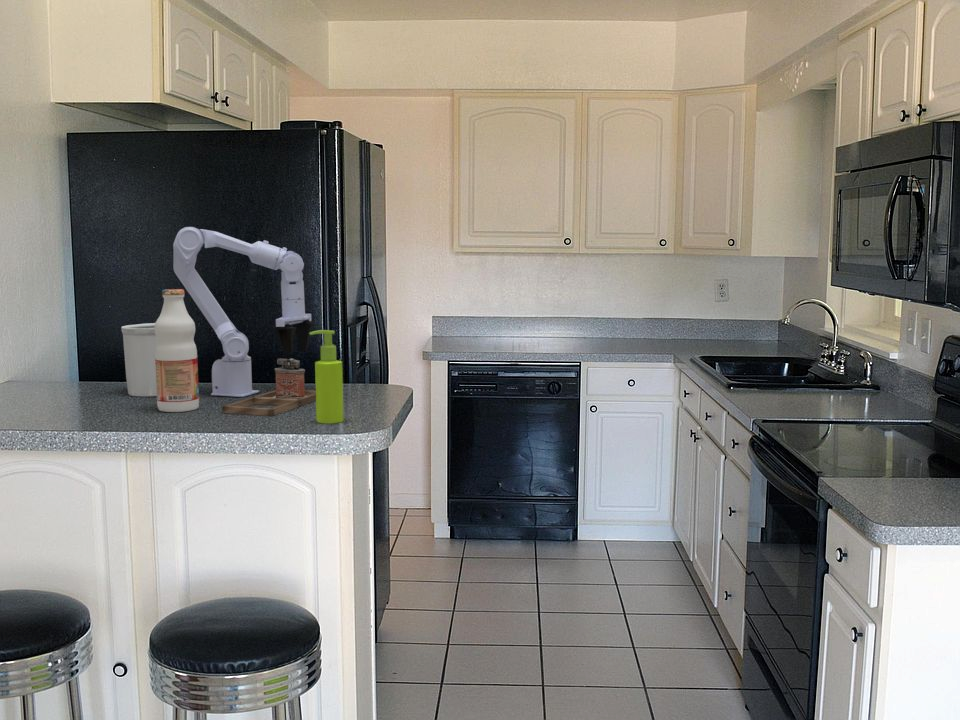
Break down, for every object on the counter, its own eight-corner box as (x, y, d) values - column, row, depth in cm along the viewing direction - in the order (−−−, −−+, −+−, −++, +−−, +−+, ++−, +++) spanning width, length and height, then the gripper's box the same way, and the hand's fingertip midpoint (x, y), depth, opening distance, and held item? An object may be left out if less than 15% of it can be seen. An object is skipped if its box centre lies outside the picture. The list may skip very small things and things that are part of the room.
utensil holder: (111, 395, 251) (108, 326, 248) (151, 386, 264) (148, 321, 262) (158, 399, 245) (155, 328, 243) (197, 389, 259) (194, 323, 256)
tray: (222, 412, 226) (221, 406, 226) (280, 394, 251) (279, 388, 251) (271, 416, 222) (271, 409, 222) (325, 397, 247) (325, 391, 246)
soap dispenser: (312, 418, 219) (310, 329, 217) (344, 418, 220) (342, 328, 217) (310, 423, 214) (308, 332, 211) (342, 423, 214) (340, 331, 211)
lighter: (308, 399, 243) (307, 358, 241) (300, 401, 239) (299, 360, 238) (280, 396, 246) (279, 357, 244) (272, 399, 243) (271, 358, 241)
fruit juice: (149, 410, 230) (143, 290, 226) (182, 404, 238) (177, 287, 234) (174, 414, 225) (169, 291, 221) (207, 408, 232) (203, 289, 229)
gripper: (292, 301, 243) (295, 356, 245) (320, 296, 257) (323, 348, 259) (267, 301, 246) (270, 355, 248) (296, 296, 259) (299, 348, 261)
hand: (295, 352), depth 253 cm, fingers open, 7 cm apart
